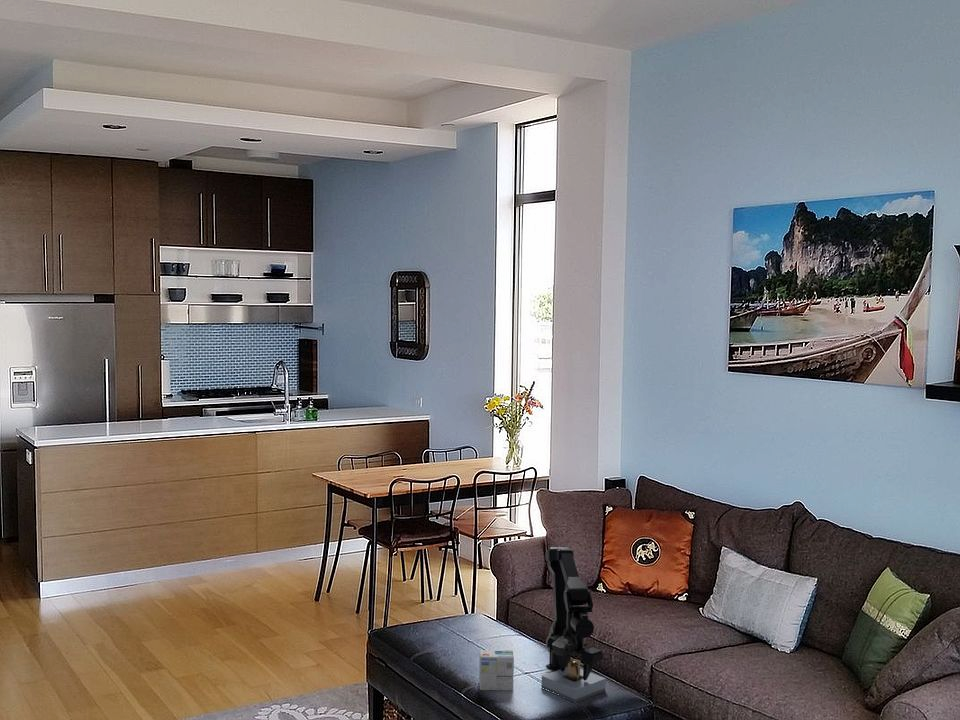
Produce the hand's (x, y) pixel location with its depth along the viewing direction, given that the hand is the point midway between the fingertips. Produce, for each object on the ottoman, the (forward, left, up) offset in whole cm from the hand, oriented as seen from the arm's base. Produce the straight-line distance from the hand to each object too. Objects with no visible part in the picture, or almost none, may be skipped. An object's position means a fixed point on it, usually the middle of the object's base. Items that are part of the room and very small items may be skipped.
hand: (573, 675), depth 320 cm
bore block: (0, 0, -4) cm, 4 cm away
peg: (0, 0, -4) cm, 4 cm away
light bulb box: (-17, -17, -5) cm, 25 cm away
